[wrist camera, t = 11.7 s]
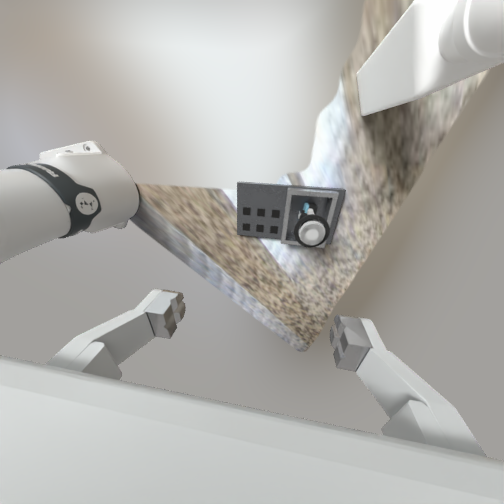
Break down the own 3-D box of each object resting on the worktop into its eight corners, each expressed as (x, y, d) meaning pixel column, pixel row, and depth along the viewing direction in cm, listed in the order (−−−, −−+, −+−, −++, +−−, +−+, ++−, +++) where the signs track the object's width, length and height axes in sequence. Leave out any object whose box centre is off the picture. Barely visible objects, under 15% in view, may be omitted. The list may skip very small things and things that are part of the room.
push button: (314, 234, 38) (321, 260, 29) (288, 230, 39) (289, 253, 30) (324, 203, 35) (336, 221, 26) (296, 198, 35) (299, 214, 27)
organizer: (238, 232, 42) (234, 239, 39) (238, 181, 36) (234, 184, 33) (329, 241, 40) (332, 249, 36) (343, 188, 34) (349, 192, 31)
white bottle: (406, 100, 27) (686, -11, 8) (358, 121, 29) (490, 72, 10) (405, 43, 24) (814, -320, 5) (351, 71, 26) (515, -123, 8)
